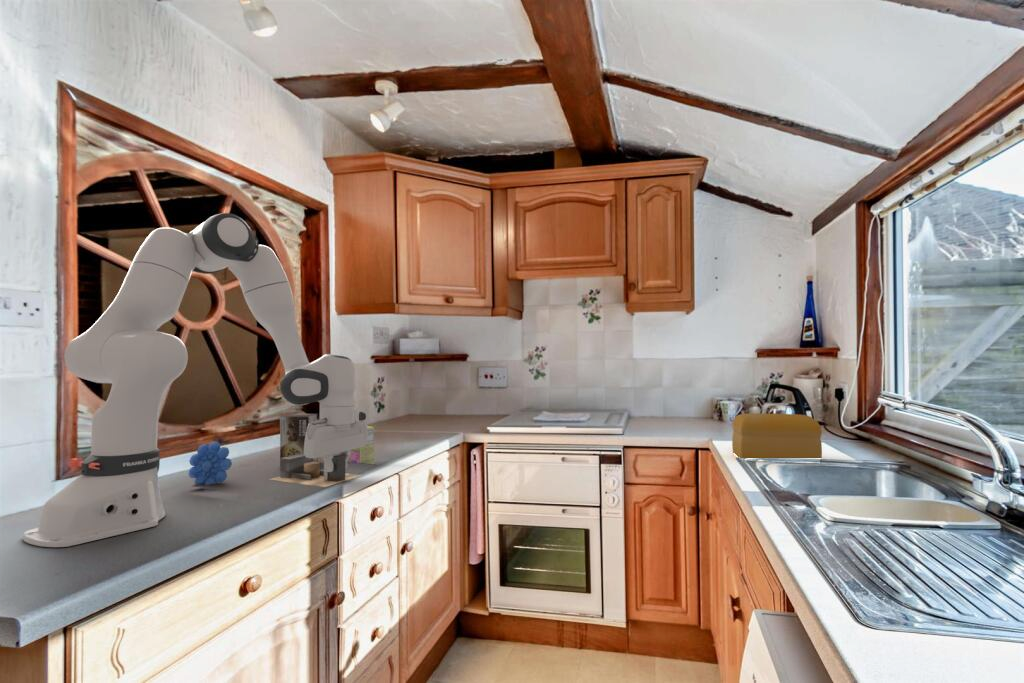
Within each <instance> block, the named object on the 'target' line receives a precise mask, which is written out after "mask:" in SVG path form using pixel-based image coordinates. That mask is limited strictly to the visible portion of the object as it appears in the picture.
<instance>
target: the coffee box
mask: <svg viewBox="0 0 1024 683" xmlns="http://www.w3.org/2000/svg"><path fill="white" fill-rule="evenodd" d="M313 420H319V413H287V414H284V415H281V416H280V415H279V432H280V433H279V451H280V452H279V454H280V455H279V462H280V461H281V458H284V457H289V456H293V455H298V454H302V453H304V442H305V435H306V431H307V426H308V425H309V424H310V423H311V421H313ZM311 425H312V424H311ZM312 462H319V458H315V459H314V458H312Z"/></svg>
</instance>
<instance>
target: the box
mask: <svg viewBox="0 0 1024 683" xmlns="http://www.w3.org/2000/svg"><path fill="white" fill-rule="evenodd" d="M367 426H368V425H367ZM338 454H341V452H340V453H338ZM349 462H350V463H356V464H367V465H368V464H369V465H375V426H368V439H367V443H366V445H365V447H361V448H357V449H353V450H351V454H350V457H349V459H348V461H347V463H349Z"/></svg>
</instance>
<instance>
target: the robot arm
mask: <svg viewBox="0 0 1024 683" xmlns="http://www.w3.org/2000/svg"><path fill="white" fill-rule="evenodd" d="M226 268H227V269H228V270H229V271H230V272H231V273H232V274H233V275H234V277H236V279H237V281H238V282H239V285H240V289H241V291H242V294H243V298H244V300H245V303H246V305H247V306H248V309H249V310H250V311H251V314H252V316H253V317H254V318H255V320H256V321H257V322H258V323H259V325H261V326H262V327H263V328H264V329H265V330H266V331H267V332H268V333H269V335H270V336H271V338H272V339H273V341H274V344H275V346H276V348H277V351H278V355H279V357H280V359H281V363H282V364H283V367H284V376H283V377H282V379H281V381H280V388H279V389H280V393H281V395H282V397H283V398H284V399H285V400H286V401H287V402H288V403H290V404H293V405H297V406H305V405H308V404H311V403H315V402H318V403H319V418H318V420H313V421H311V423H310V424H309V425H308V426H307V431H306V435H305V442H304V455H305V457H306V458H314V459H315V458H318V459H319V458H322V460H323V462H324V463H325V464H326V471H327V472H333V471H335V467H336V464H333V462H332V460H331V459H333V454H336V453H340V452H341V454H346V464H345V469H347V468H348V459H349V457H350V454H351V450H353V449H357V448H361V447H365V445H366V443H367V439H368V423H367V420H368V418H369V415H368V413H367V412H366V411H363V410H360V409H357V408H356V402H355V396H354V395H355V390H356V369H355V365H354V362H353V361H352V359H351V358H349V357H347V356H344V355H339V354H335V353H334V354H332V353H325V354H324V355H322V356H321V357H319V358H317V359H316V360H313V361H311V362H310V360H309V358H308V356H307V354H306V351H305V348H304V346H303V342H302V341H301V338H300V335H299V332H298V327H297V325H298V324H297V318H296V315H297V314H296V306H295V300H294V294H293V291H292V287H291V284H290V282H289V279H288V277H287V274H286V271H285V269H284V267H283V265H282V263H281V261H280V260H279V258H278V257H277V255H276V253H275V252H274V250H273V249H272V248H271V247H269V246H267V245H264V244H259V239H258V236H256V235H255V234H254V232H253V230H252V228H251V227H250V226H249V224H248V223H247V222H246V221H245V220H244V219H243V218H241V217H240V216H239V215H237V214H234V213H229V212H227V213H218V214H214V215H212V216H209V217H208V218H207V219H206V220H205V221H203V222H202V223H200V224H199V225H197V226H195V227H194V229H193V230H191V231H190V232H184V231H181V230H179V229H176V228H173V227H159V228H156V229H154V230H152V231H151V232H150V233H149V234H148V236H146V238H145V240H144V241H143V243H142V244H141V245H140V247H139V248H138V251H137V252H136V254H135V256H134V258H133V259H132V262H131V264H130V267H129V269H128V271H127V273H126V276H125V277H124V279H123V283H122V284H121V287H120V289H119V291H118V293H117V295H116V296H115V298H114V299H113V301H111V303H110V305H109V306H108V307H107V309H106V310H105V311H104V312H103V313H102V314H101V316H100V317H99V318H98V319H96V320H95V323H93V324H92V325H91V327H89V328H88V329H87V330H86V331H84V332H83V333H81V334H80V335H78V336H76V337H75V338H73V339H72V340H71V341H70V342H69V343H68V344H67V346H66V348H65V350H64V354H63V355H64V363H65V367H66V368H67V370H68V371H69V372H70V373H71V374H72V375H74V376H75V377H76V378H80V379H83V380H87V381H90V382H93V383H96V384H111V388H110V391H109V393H108V396H107V399H106V401H105V402H104V404H103V405H101V406H100V407H99V408H98V409H96V410H95V412H94V413H93V415H92V418H91V438H90V439H91V440H90V441H91V442H90V445H91V446H90V447H91V448H90V450H91V451H90V453H89V454H88V456H87V457H86V458H84V459H83V458H77V457H73V458H70V459H69V461H68V462H67V465H68V467H69V468H70V469H75V470H80V469H81V470H80V475H79V476H77V477H76V478H75V479H73V481H71V482H70V483H68V484H67V485H66V486H64V488H62V489H61V490H59V492H57V493H56V494H54V495H52V497H50V498H49V499H48V500H47V501H46V502H45V503H44V505H43V507H42V509H41V513H40V517H39V523H38V527H35V528H31V529H28V530H25V531H24V532H23V534H22V540H23V542H24V543H27V544H30V545H32V546H33V545H34V546H38V547H43V548H44V547H46V548H65V547H72V546H76V545H81V544H85V543H89V542H93V541H97V540H102V539H106V538H109V537H114V536H119V535H123V534H127V533H132V532H135V531H140V530H144V529H148V528H153V527H156V526H158V525H159V521H160V520H162V519H163V518H164V517H165V516H166V512H165V509H164V506H163V502H162V499H161V498H162V497H161V492H160V485H159V476H158V473H159V470H160V463H161V462H160V461H161V460H160V459H161V458H160V457H161V456H160V449H159V448H158V433H159V431H158V430H159V417H160V415H159V414H160V410H161V406H162V403H163V400H164V397H165V395H166V394H167V391H168V389H169V387H170V386H171V384H173V382H174V381H175V380H177V379H178V378H179V377H180V376H181V375H182V374H183V373H184V371H185V369H186V368H187V365H188V360H189V359H188V358H189V355H188V353H189V352H188V350H187V347H186V345H185V343H184V342H183V341H182V340H181V339H180V338H179V337H178V336H175V335H173V334H170V333H166V332H163V331H158V329H160V328H161V327H162V325H164V324H165V323H167V322H169V321H172V319H173V318H174V317H175V316H176V315H177V313H178V311H179V308H180V306H181V303H182V301H183V298H184V295H185V292H186V290H187V288H188V285H189V282H190V279H191V276H192V273H193V272H194V273H199V274H203V275H212V274H215V273H218V272H221V271H223V269H226ZM311 424H312V425H311Z"/></svg>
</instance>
